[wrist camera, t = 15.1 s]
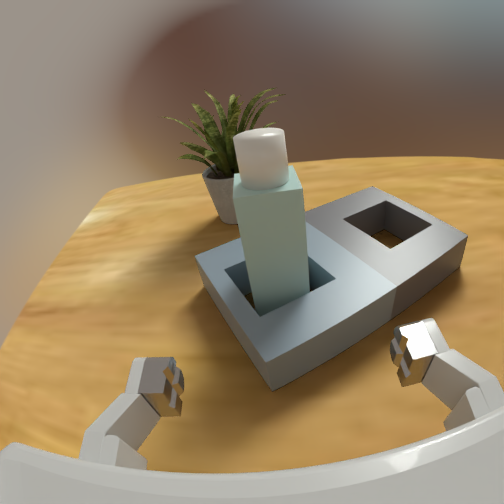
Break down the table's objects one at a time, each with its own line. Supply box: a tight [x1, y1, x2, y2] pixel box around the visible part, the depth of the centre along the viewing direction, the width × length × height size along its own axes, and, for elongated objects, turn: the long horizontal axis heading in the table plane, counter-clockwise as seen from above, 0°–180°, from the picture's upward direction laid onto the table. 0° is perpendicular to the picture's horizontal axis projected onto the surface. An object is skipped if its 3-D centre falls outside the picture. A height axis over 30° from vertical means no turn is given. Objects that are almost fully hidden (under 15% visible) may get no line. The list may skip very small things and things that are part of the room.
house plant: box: [164, 88, 280, 224], centre depth 35 cm, size 14×14×16 cm
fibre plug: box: [233, 128, 310, 317], centre depth 22 cm, size 4×4×14 cm
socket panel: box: [195, 186, 468, 392], centre depth 26 cm, size 21×13×4 cm, turn 117°
